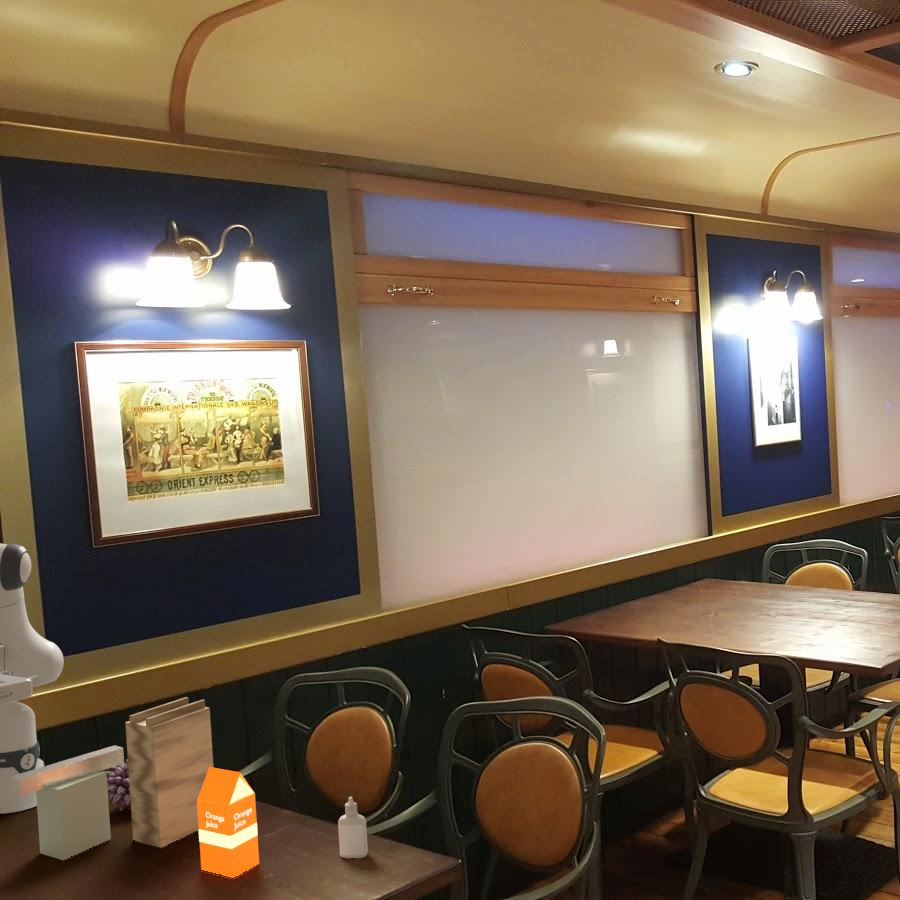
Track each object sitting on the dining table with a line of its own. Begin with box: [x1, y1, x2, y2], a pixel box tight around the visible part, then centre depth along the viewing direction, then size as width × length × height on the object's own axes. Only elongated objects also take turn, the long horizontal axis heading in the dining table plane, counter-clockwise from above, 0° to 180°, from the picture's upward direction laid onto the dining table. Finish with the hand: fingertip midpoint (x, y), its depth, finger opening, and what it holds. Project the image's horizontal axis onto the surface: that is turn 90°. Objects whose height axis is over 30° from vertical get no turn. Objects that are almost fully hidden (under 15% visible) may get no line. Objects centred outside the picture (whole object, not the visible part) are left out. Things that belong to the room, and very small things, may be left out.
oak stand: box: [125, 696, 214, 849], centre depth 231 cm, size 9×16×28 cm, turn 146°
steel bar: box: [11, 745, 125, 796], centre depth 226 cm, size 4×24×4 cm
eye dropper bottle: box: [337, 796, 369, 859], centre depth 213 cm, size 4×6×12 cm
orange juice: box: [197, 767, 260, 879], centre depth 210 cm, size 8×9×20 cm
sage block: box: [36, 770, 112, 861], centre depth 226 cm, size 8×12×15 cm, turn 146°
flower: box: [106, 758, 131, 812], centre depth 246 cm, size 12×12×12 cm
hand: (25, 677), depth 214 cm, fingers open, 8 cm apart
